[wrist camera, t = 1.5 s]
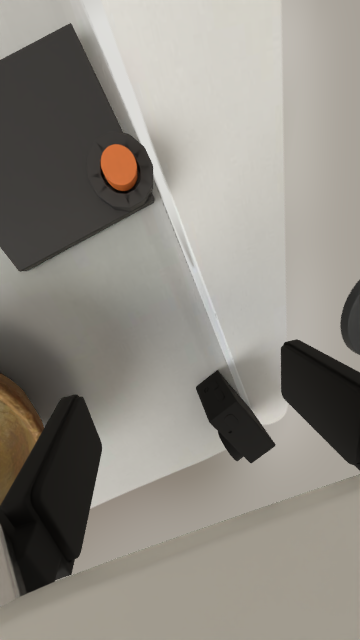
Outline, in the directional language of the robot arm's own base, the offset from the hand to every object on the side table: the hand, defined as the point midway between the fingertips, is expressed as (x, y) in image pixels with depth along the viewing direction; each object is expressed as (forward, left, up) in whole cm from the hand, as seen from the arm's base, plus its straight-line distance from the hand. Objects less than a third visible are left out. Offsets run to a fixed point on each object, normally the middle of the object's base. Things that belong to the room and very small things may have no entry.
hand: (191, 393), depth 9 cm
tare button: (-3, -14, -15) cm, 21 cm away
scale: (+3, -18, -18) cm, 25 cm away
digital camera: (-1, +18, -18) cm, 26 cm away
